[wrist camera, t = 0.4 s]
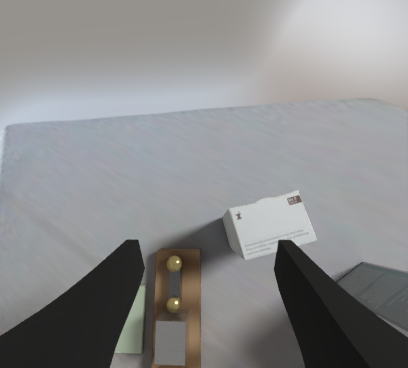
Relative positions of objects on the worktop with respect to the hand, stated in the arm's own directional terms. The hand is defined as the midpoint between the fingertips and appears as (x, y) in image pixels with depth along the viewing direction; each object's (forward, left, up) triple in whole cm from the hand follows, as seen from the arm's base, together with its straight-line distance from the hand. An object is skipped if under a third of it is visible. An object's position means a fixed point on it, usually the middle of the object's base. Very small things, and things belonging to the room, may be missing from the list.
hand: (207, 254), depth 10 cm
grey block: (-14, +6, -22) cm, 27 cm away
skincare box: (+1, -6, -26) cm, 26 cm away
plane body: (-12, +6, -25) cm, 29 cm away
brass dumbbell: (-7, +6, -22) cm, 24 cm away
